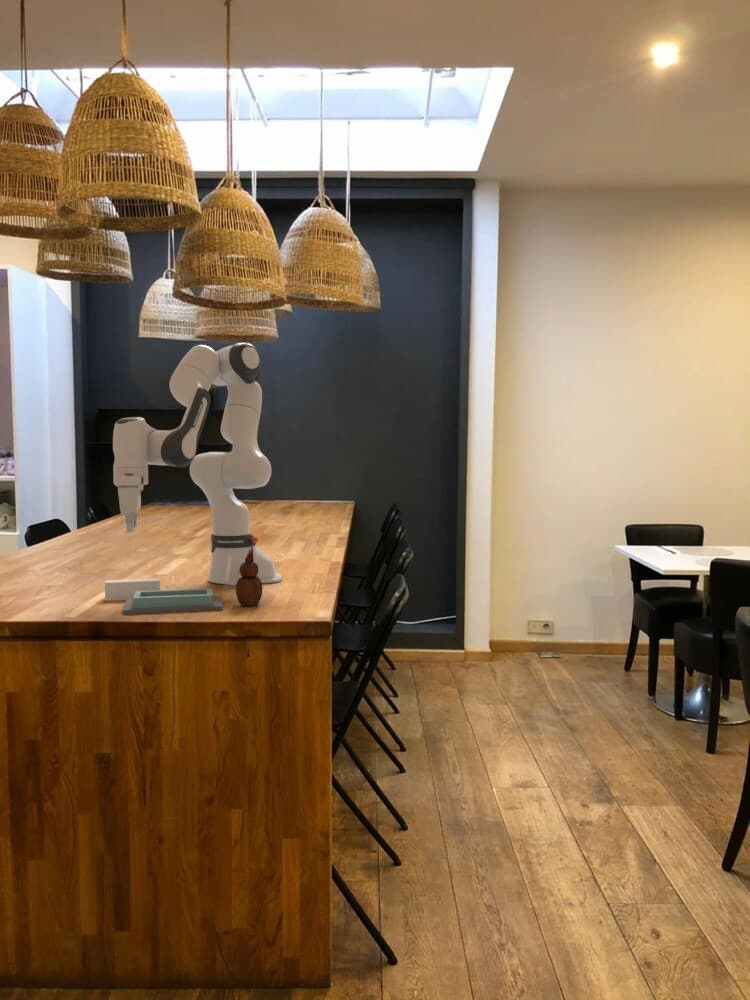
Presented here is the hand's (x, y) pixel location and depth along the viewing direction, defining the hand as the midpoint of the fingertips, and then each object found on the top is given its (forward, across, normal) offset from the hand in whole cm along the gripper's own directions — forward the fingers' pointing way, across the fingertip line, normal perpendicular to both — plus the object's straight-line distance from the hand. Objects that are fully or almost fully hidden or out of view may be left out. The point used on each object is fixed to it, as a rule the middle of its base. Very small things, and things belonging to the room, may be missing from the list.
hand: (131, 529), depth 204 cm
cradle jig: (+19, +13, +11) cm, 25 cm away
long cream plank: (+19, 0, 0) cm, 19 cm away
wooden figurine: (+19, +15, +30) cm, 38 cm away
